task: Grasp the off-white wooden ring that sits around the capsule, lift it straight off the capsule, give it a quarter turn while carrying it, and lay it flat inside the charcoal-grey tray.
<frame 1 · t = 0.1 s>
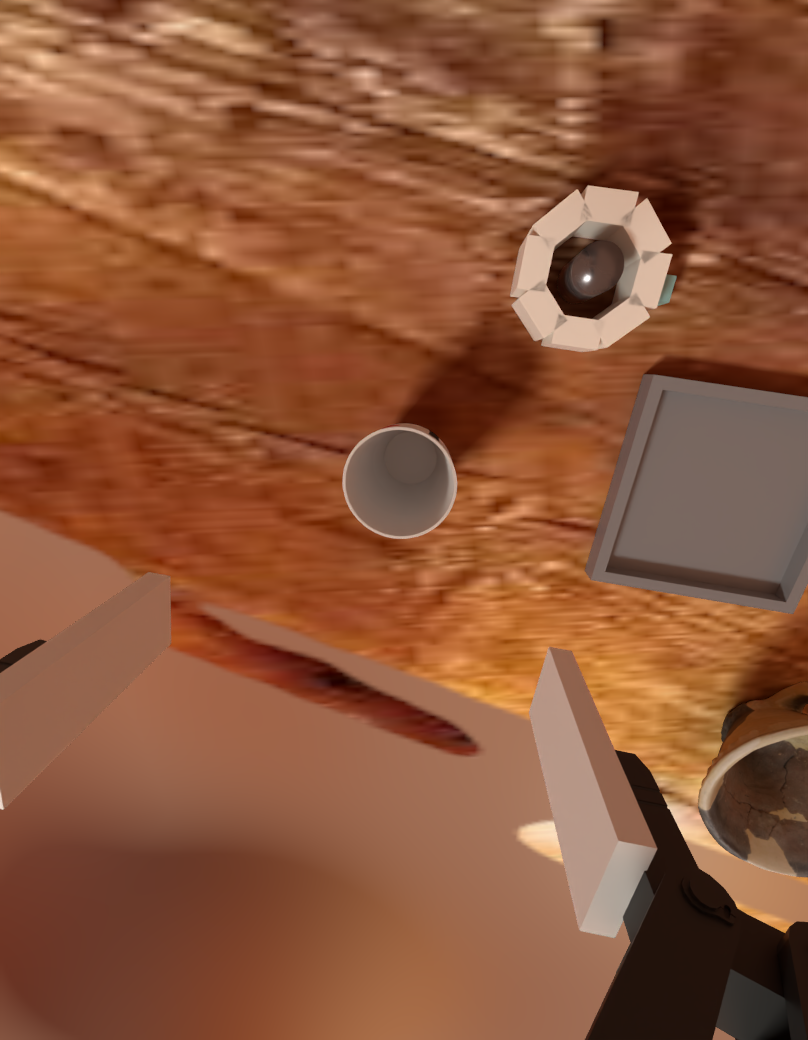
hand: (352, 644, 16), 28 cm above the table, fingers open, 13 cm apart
tray: (715, 495, 40), on the table
ring: (577, 281, 36), on the table
bowl: (750, 725, 47), on the table
cup: (410, 458, 42), on the table
capsule: (577, 281, 36), on the table
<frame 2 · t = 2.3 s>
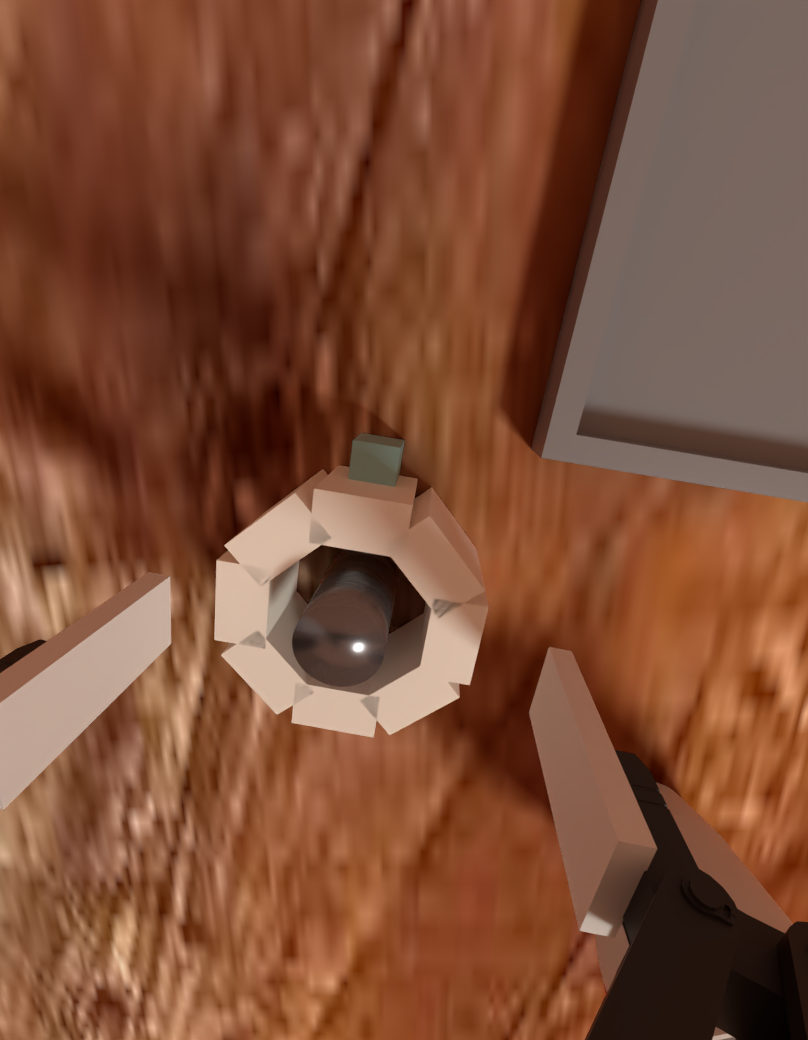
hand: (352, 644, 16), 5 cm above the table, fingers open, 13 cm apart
ring: (363, 578, 21), on the table
cup: (634, 813, 24), on the table
capsule: (363, 578, 21), on the table
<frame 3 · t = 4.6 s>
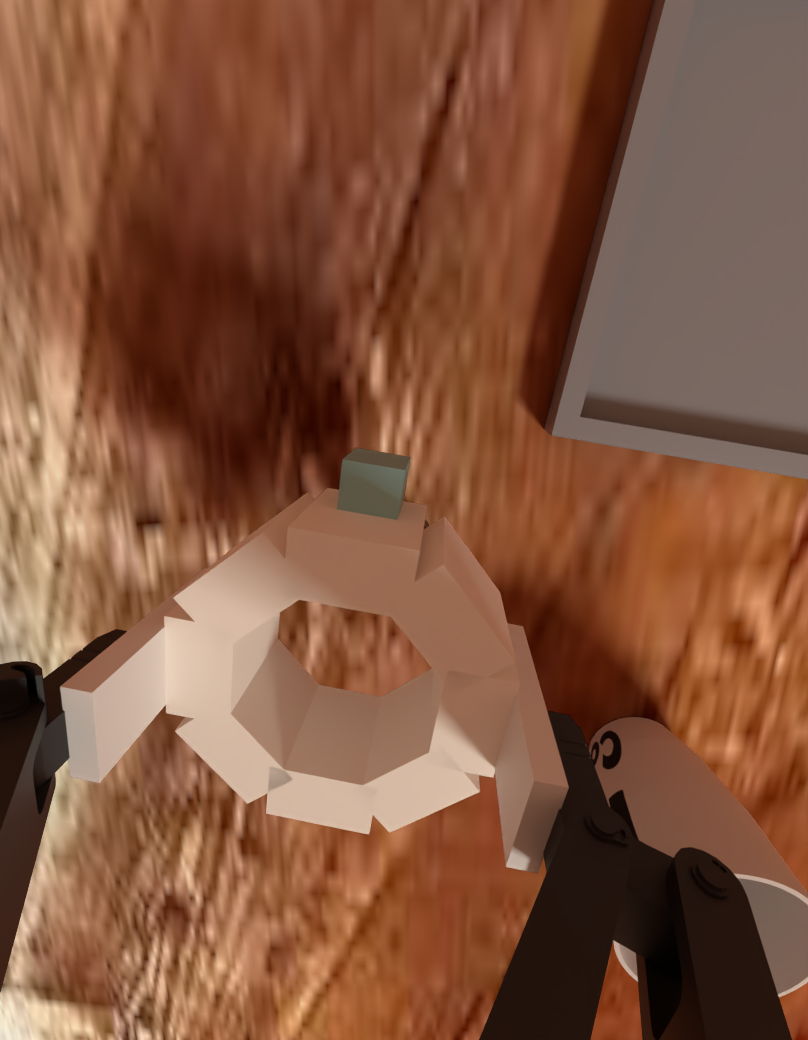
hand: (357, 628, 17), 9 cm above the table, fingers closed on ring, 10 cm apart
ring: (359, 624, 17), point 9 cm above the table, touching gripper
cup: (631, 747, 28), on the table
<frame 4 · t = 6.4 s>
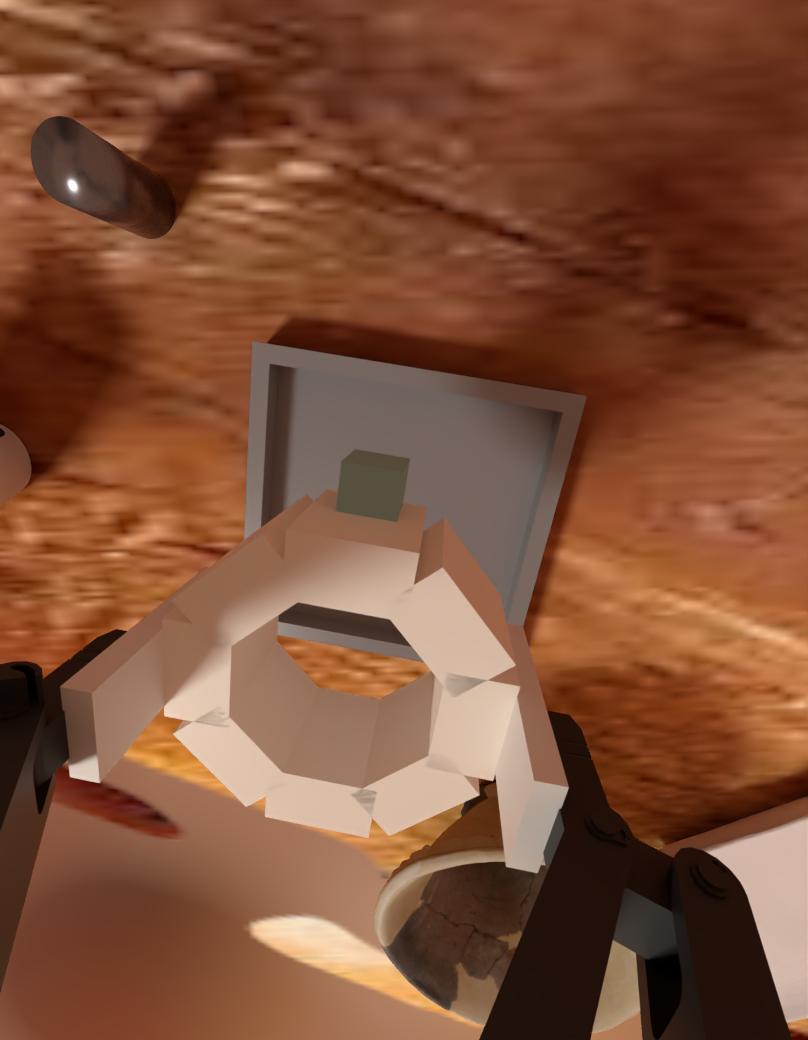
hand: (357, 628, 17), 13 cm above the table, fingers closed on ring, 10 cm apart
tray: (396, 515, 29), on the table
ring: (358, 627, 17), point 13 cm above the table, touching gripper
bowl: (502, 811, 36), on the table
capsule: (146, 205, 25), on the table
salad plate: (806, 868, 36), on the table
when the fingers open (2 cm above the table, at t = 8.4 s): ring drops 2 cm, resting on tray.
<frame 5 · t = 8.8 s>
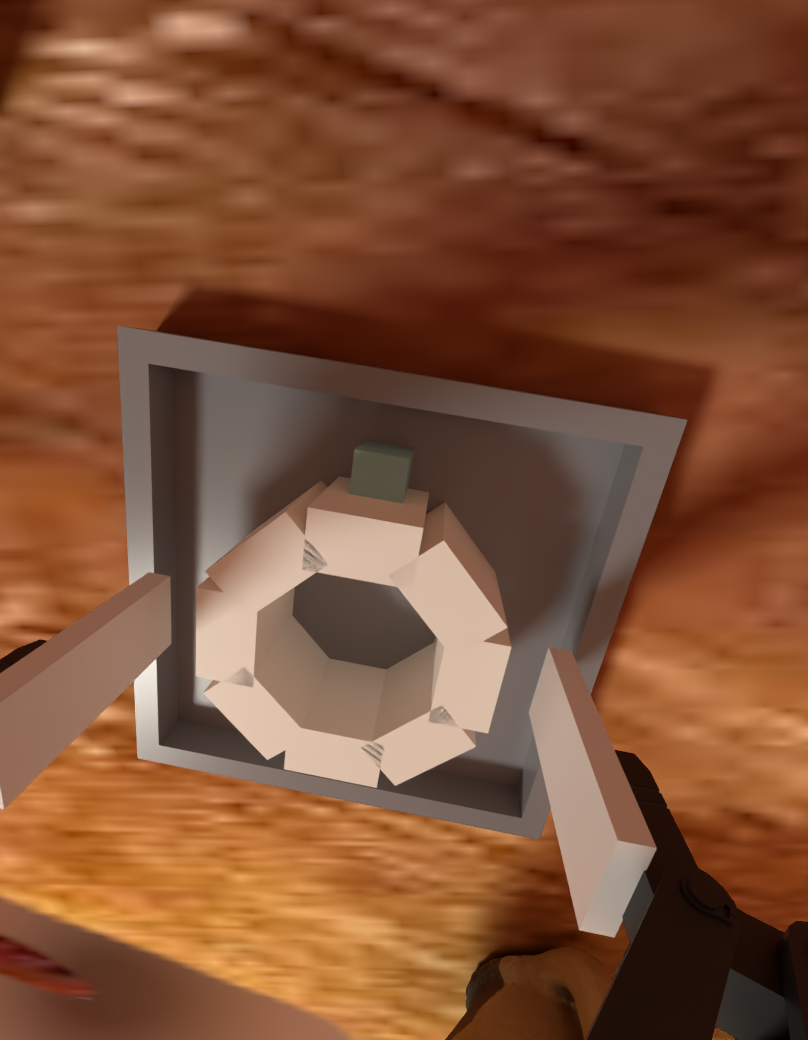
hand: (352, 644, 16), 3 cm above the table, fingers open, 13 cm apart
tray: (368, 596, 19), on the table
ring: (366, 602, 19), resting on tray
bowl: (523, 984, 26), on the table
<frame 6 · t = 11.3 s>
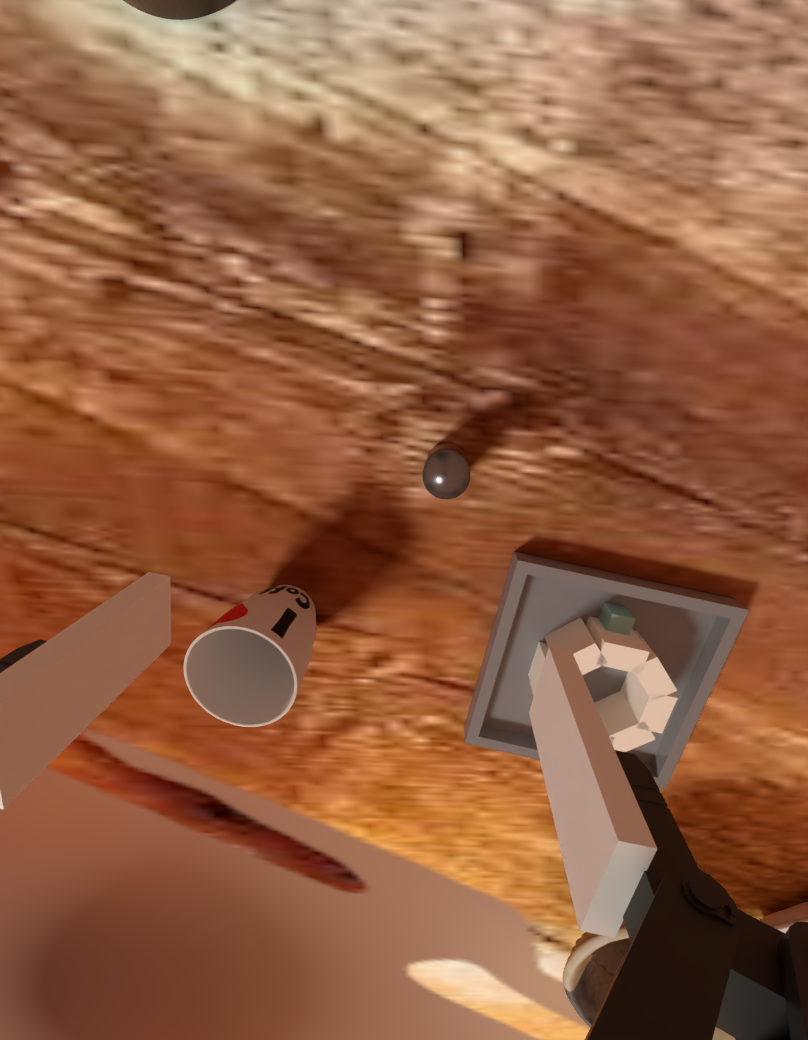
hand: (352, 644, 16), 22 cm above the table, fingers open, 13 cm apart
tray: (589, 667, 40), on the table
ring: (590, 671, 39), resting on tray
bowl: (635, 882, 47), on the table
cup: (289, 609, 41), on the table
capsule: (446, 462, 36), on the table
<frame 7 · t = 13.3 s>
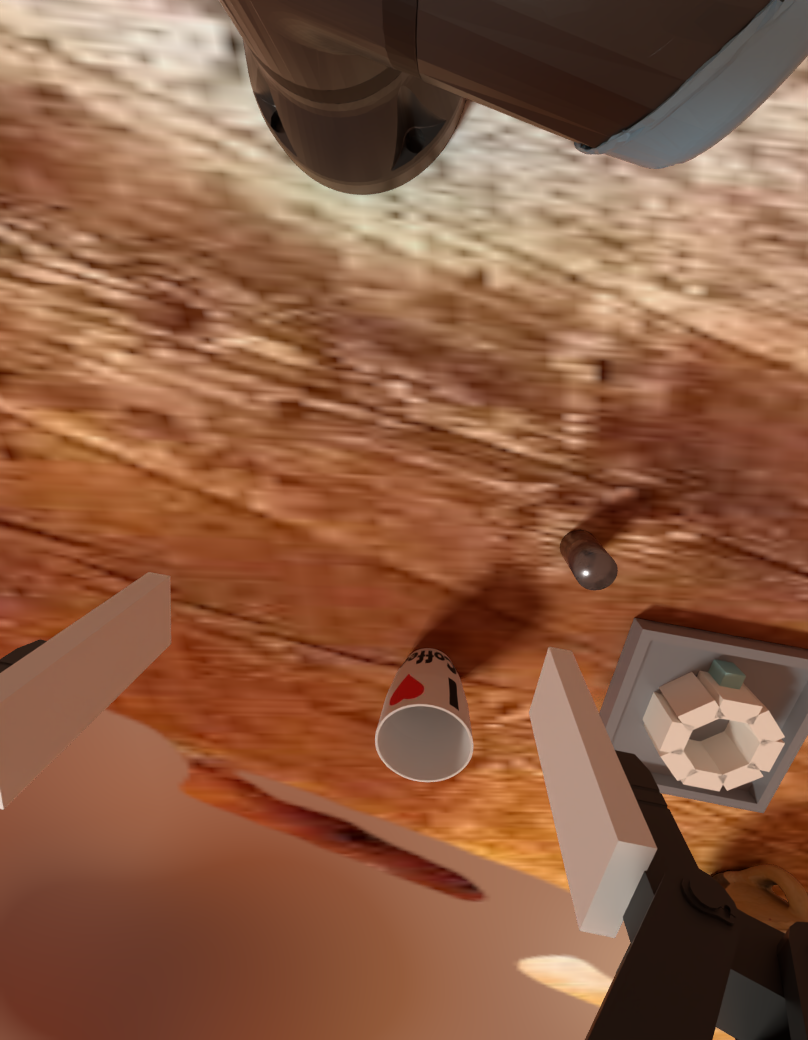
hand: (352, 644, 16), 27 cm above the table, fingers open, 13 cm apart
tray: (696, 711, 46), on the table
ring: (698, 715, 45), resting on tray
bowl: (727, 888, 53), on the table
cup: (428, 668, 47), on the table
capsule: (578, 546, 42), on the table
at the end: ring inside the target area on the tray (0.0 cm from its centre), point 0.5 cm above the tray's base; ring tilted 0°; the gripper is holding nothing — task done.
